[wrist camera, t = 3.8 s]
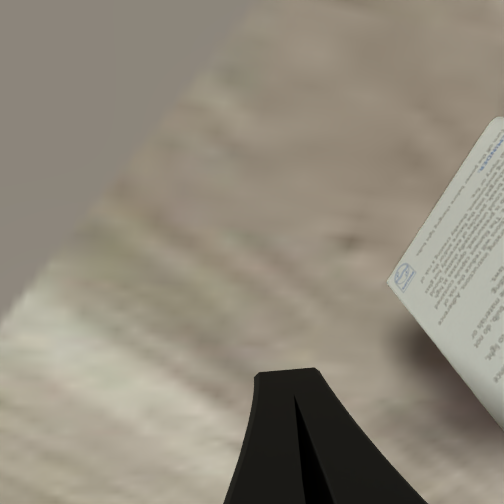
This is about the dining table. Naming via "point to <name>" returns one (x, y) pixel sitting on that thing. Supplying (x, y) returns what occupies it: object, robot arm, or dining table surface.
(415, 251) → the light bulb box
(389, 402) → the dining table surface
